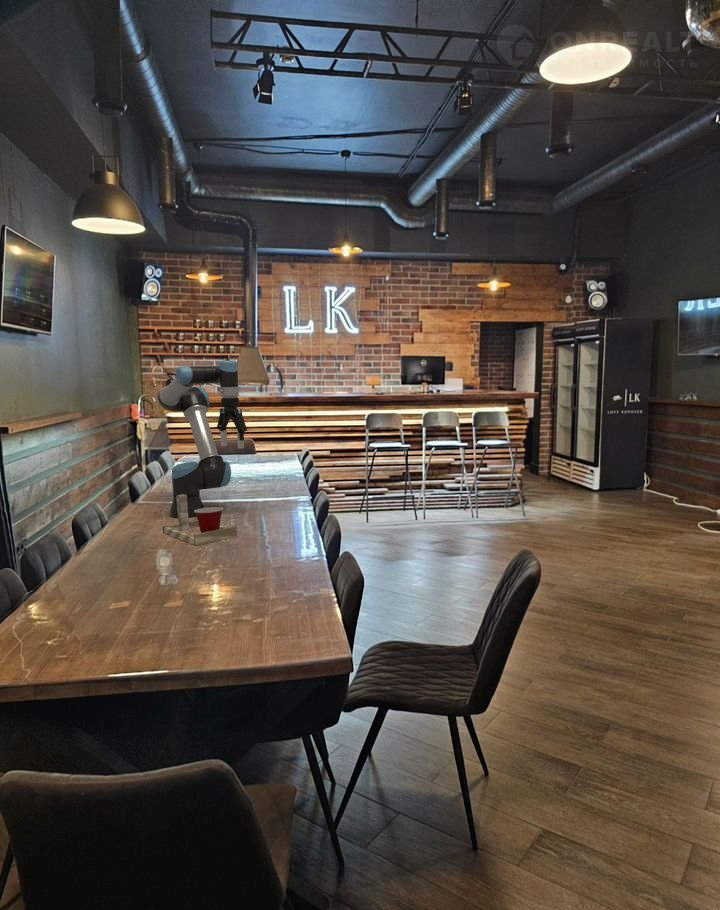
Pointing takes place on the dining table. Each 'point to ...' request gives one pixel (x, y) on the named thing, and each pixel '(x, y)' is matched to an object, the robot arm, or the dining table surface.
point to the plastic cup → (209, 518)
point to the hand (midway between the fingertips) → (232, 447)
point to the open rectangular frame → (185, 524)
